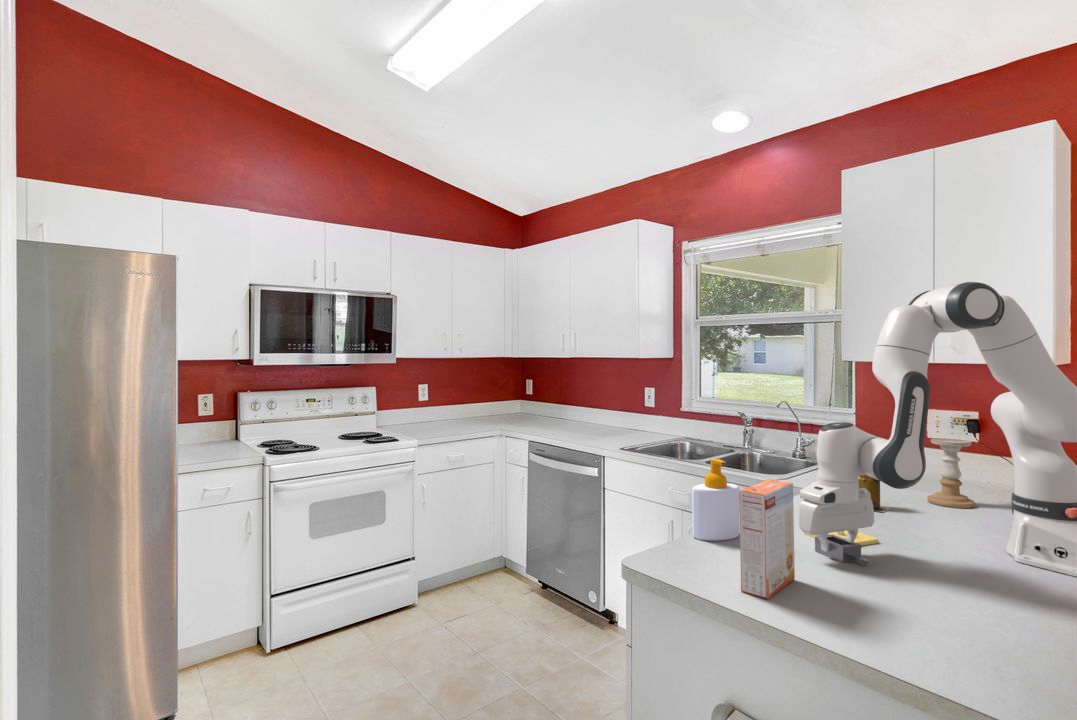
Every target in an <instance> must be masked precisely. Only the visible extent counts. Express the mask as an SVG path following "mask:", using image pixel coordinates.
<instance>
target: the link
mask: <svg viewBox="0 0 1077 720" xmlns="http://www.w3.org/2000/svg"><path fill="white" fill-rule="evenodd" d="M827 540H828V542H829V543H831V544H832V547H831V548H832V550H831V551H823V550H822V549H821V542H820V540H819V538H818V537H815V538H814V552H816V553H818V554H820V555H823V556H826V557H828V558H830V559H832V560H835V561H838V562H840V563H843V564H844V563H849V562H850V563H851V562H856V563H859V564H861V565H864V566H870V560H869V559H866V558H863V557H862V546H861V544H858V543H855V542H852V541H850V540H847V539H844V538H841V537H839V536H836V535H833V534H831V535H829V536H828V537H827Z"/></svg>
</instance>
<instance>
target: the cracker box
mask: <svg viewBox="0 0 1077 720" xmlns="http://www.w3.org/2000/svg"><path fill="white" fill-rule="evenodd" d="M739 515H740V534H739V547H740V549H739V550H740V553H739V554H740V556H739V557H740V591H741V592H742V593H745V594H749V595H753V596H755V597H759V598H762V599H766V600H769V599H771V597H773V596H774V595H775V594H776V593H778V592H779V591H781V590H782V589H783V588H784V587H786V586H787V585H788V584H790V583H791V582H793V581H794V580H795V578H796V577H795V572H796V571H795V525H794V524H795V523H794V522H795V519H794V517H795V516H794V483H793V482H790V481H783V480H777V479H769V478H768V479H766V480H763V481H761V482H758V483H755V484H752V485H750V486H748V487H746V488H745V487H744V488H743V489H739Z"/></svg>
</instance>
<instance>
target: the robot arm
mask: <svg viewBox="0 0 1077 720" xmlns="http://www.w3.org/2000/svg"><path fill="white" fill-rule="evenodd" d="M965 330H967V331H968V332H969V333H970V334H971V335H972V336H973V338H974V340H975V344H976V345H977V347H978V349H979V351H980V353H981V355H982V357H983V359H984V361H985V364H986V365H987V367H988V369H989V371H990V373H991V375H992V377H993V378H994V379H995V380H996V382H997V383H999V384H1001V385H1003V386H1004V387H1006V388H1007V389H1008V390H1009V391H1006V392H1004V393H1001V394H999V395H998V396H996V397H995V399H994V400H993V401H992V403H991V407H990V416H991V418H992V420H993V422H995V423H996V424H997V426H998V427H1000V430H1001V431H1002V433H1003V435H1004V437H1005V439H1006V442H1007V445H1008V446H1009V451H1010V454H1011V458H1012V463H1013V492H1012V493H1011V514H1012V524H1011V530H1010V534H1009V538H1008V541H1007V544H1006V546H1005V548H1004V551H1005V552H1006V553H1007V554H1008V555H1010V556H1012V557H1013V559H1014V561H1015V562H1018V563H1021V564H1025V565H1030V566H1034V567H1037V568H1041V569H1045V570H1049V571H1053V572H1058V573H1061V574H1065V575H1068V576H1069V575H1070V576H1072V577H1076V578H1077V465H1076V463H1075V461H1073V460H1072V459H1071V458H1070V457H1069V456H1068V455H1067V453H1066V451H1065V450H1064V448H1063V446H1062V443H1077V386H1076V384H1074V383H1073V381H1071V380H1070V378H1068V376H1067V375H1065V374H1064V372H1063V371H1062V370H1061V369H1060V368H1059V367H1058V366H1057V364H1056V363H1055V362H1054V361H1053V359H1052V357H1051V356H1050V354H1049V352H1048V351H1047V348H1046V347H1045V345H1044V343H1043V341H1042V339H1041V337H1040V336H1039V333H1038V332H1037V329H1036V328H1035V326H1034V324H1033V322H1032V321H1031V319H1030V318H1029V316H1028V315H1027V314H1026V312H1025V311H1024V309H1023V308H1022V307H1021V305H1019V303H1018V302H1017V301H1016V300H1015V299H1014V298H1013V297H1011V296H1007V295H1000V293H998V292H997V290H996V289H994V288H993V287H992V286H990V285H989V284H986V283H982V282H978V281H967V282H966V281H965V282H962V283H955V284H947V285H943V286H941V287H938V288H935V289H932V290H926V291H924V292H921V293H919V294H917V295H916V296H915V297H913V299H911V301H909V303H908V304H905V305H900V306H897V307H894V308H893V309H891V310H890V311H889V312H888V315H887V317H886V319H885V320H884V322H883V325H882V327H881V330H880V331H879V335H878V337H877V341H876V345H875V346H874V352H873V356H872V362H871V363H872V364H871V365H872V366H871V368H872V369H871V370H872V372H873V375H874V377H875V378H876V380H877V381H878V382H879V383H880V384H881V385H883V387H885V388H887V389H888V391H890V393H891V395H892V396H893V398H894V404H895V405H894V413H893V421H892V427H891V432H890V433H891V434H890V436H889V438H888V439H886V438H883V437H879V436H876V435H874V434H871V433H868V432H866V431H864V430H862V429H860V428H858V427H857V426H856V425H855V424H854V423H851V422H846V421H841V422H839V421H838V422H832V423H827V424H825V425H823V426H822V427H820V429H819V431H818V434H817V441H816V461H817V464H818V465H817V468H818V471H817V473H816V481H815V480H814V481H813V482H812V483H810V484H809V485H807V486H805V487H803V488H801V489H800V490H799V497H800V499H802V501H801V502H800V503H799V508H798V526H799V527H798V528H799V529H800V530H801V532H802V533H803V534H804V533H807V534H810V535H817V537H818V538H819V540H820V542H821V549H822V550H823V551H831V550H832V548H831V547H832V544H831V543H829V542H828V540H827V537H828V536H829V533H832V532H839V531H848V533H847V536H846V538H845V539H847V540H850V541H852V542H854V540H855V538H856V536H857V534H858V532H859V529H865V528H866V529H867V528H872V527H873V526H874V524H875V511H874V509H873V503H872V500H871V494H870V492H869V491H868V490H866V488H860V489H859V476H860V475H867V476H869V477H871V478H874V479H877V480H880V483H883V484H884V485H887V486H888V487H890V488H893V489H897V490H898V489H899V490H904V489H909V488H911V487H913V486H914V485H915V486H916V484H918V483H919V482H920V481H921V480H922V479H923V477H924V475H925V472H926V469H927V462H926V461H927V460H926V453H925V438H926V437H925V436H926V430H927V429H926V428H927V422H928V414H929V408H930V407H929V406H930V399H931V397H930V396H931V387H930V382H929V380H928V369H929V368H928V367H929V361H930V356H931V352H932V348H933V343H934V340H935V339H936V337H937V336H938V335H939V333H942V334H943V333H946V334H947V333H956V332H960V331H965ZM866 491H867V492H866Z"/></svg>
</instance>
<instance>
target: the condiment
mask: <svg viewBox="0 0 1077 720" xmlns="http://www.w3.org/2000/svg"><path fill="white" fill-rule="evenodd" d="M860 488H866V490H868V491H869V492H870V494H871V500H872V503H873V509H874V512H880V513H885V512H888V511H890V510H891V509H892V508H891V507H886V506H881V481H880V480H877V479H874V478H871V477H869V476H867V475H860V476H859V489H860ZM866 492H867V491H866Z"/></svg>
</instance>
